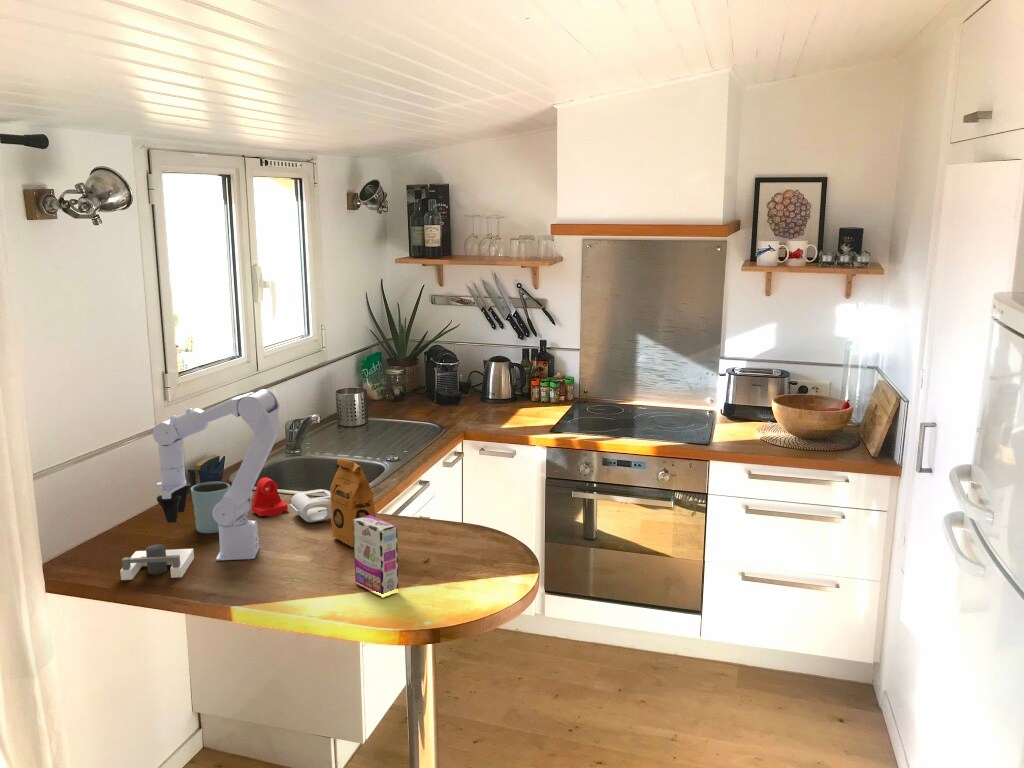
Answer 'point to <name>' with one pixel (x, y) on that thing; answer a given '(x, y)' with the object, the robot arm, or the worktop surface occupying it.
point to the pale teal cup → (207, 504)
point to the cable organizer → (304, 503)
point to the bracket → (267, 499)
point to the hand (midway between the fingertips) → (176, 516)
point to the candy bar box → (376, 554)
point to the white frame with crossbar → (175, 557)
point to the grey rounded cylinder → (156, 551)
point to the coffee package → (349, 500)
